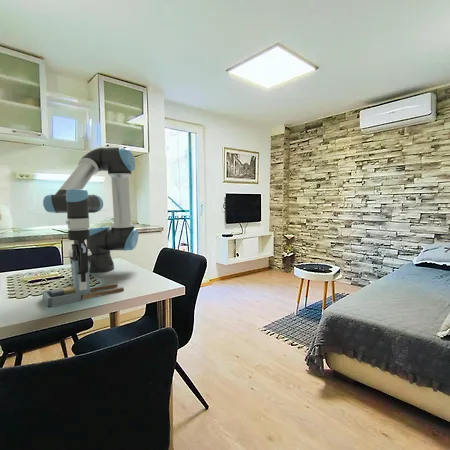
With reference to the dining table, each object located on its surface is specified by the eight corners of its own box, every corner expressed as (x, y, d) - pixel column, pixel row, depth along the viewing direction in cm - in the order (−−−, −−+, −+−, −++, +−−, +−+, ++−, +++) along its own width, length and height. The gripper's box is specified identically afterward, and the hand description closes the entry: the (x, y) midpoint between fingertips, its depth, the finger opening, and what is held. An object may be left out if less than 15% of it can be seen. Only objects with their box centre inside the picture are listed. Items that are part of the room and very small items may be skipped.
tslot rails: (76, 293, 118) (76, 290, 118) (116, 286, 129) (116, 283, 129) (82, 299, 112) (82, 296, 112) (123, 290, 123) (123, 287, 122)
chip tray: (42, 299, 112) (42, 291, 112) (73, 293, 119) (72, 286, 119) (48, 307, 104) (48, 298, 103) (80, 300, 110) (80, 292, 110)
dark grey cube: (50, 300, 110) (49, 290, 110) (62, 298, 113) (61, 288, 113) (52, 303, 107) (52, 292, 107) (64, 301, 110) (64, 290, 110)
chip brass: (62, 298, 113) (61, 288, 113) (73, 296, 116) (73, 286, 115) (64, 301, 110) (64, 290, 110) (76, 298, 113) (75, 288, 112)
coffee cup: (83, 286, 129) (82, 252, 127) (64, 285, 131) (63, 251, 129) (97, 280, 138) (96, 249, 137) (79, 279, 140) (78, 248, 139)
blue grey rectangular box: (73, 293, 116) (71, 261, 114) (87, 290, 119) (85, 259, 118) (76, 296, 113) (74, 262, 111) (90, 293, 116) (88, 260, 115)
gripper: (62, 228, 118) (65, 285, 120) (74, 231, 105) (77, 295, 107) (82, 227, 122) (85, 282, 124) (95, 230, 110) (98, 291, 112)
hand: (81, 288), depth 116 cm, fingers closed on blue grey rectangular box, 4 cm apart
